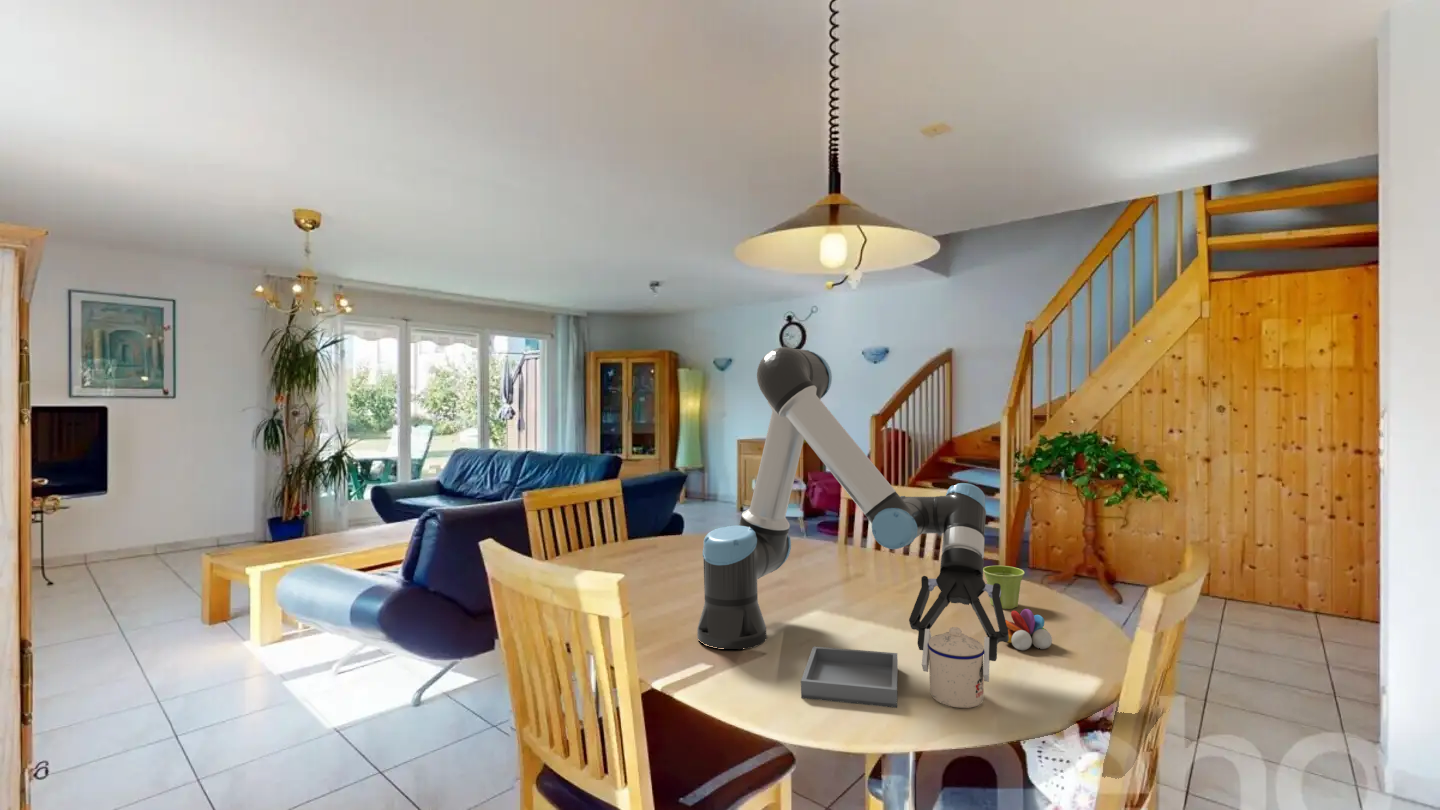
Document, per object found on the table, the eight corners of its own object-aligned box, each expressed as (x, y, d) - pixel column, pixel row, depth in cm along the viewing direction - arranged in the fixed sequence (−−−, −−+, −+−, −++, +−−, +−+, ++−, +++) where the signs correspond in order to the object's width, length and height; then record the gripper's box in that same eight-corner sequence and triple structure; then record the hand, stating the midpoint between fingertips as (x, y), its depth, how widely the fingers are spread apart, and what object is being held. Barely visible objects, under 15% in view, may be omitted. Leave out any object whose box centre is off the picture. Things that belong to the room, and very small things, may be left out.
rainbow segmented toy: (991, 638, 136) (991, 604, 136) (1035, 635, 137) (1034, 602, 137) (1012, 653, 128) (1012, 617, 128) (1059, 651, 128) (1058, 615, 128)
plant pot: (1030, 612, 152) (1029, 575, 152) (988, 611, 153) (988, 575, 153) (1018, 600, 161) (1017, 565, 161) (979, 599, 162) (978, 565, 162)
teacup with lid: (990, 711, 103) (989, 640, 103) (931, 707, 105) (930, 636, 105) (976, 679, 115) (975, 615, 115) (923, 676, 117) (922, 612, 117)
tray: (801, 698, 110) (800, 680, 110) (813, 661, 126) (813, 646, 126) (897, 708, 106) (896, 689, 106) (897, 668, 121) (897, 653, 121)
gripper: (1025, 572, 119) (1026, 694, 105) (906, 561, 128) (892, 671, 114) (1025, 550, 114) (1026, 674, 100) (901, 541, 124) (885, 652, 109)
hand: (954, 672), depth 107 cm, fingers closed on teacup with lid, 9 cm apart
